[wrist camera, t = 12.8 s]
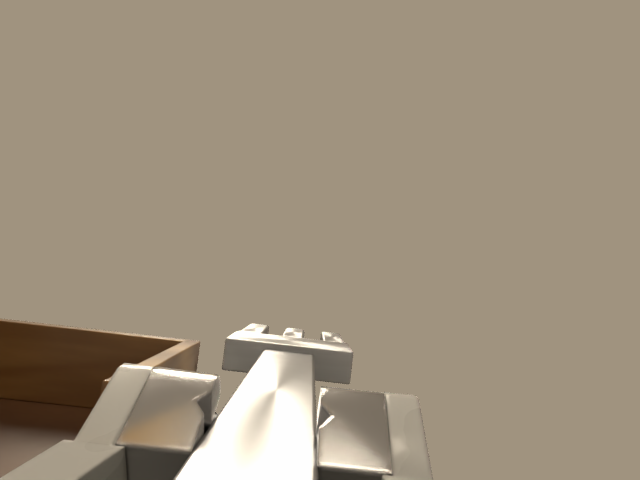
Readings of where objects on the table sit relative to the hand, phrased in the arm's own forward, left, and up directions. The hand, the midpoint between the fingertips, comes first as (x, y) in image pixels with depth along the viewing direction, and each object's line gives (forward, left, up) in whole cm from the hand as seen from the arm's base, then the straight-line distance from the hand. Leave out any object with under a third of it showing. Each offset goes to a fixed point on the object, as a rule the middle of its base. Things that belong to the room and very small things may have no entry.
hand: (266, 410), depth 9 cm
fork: (+3, +4, -1) cm, 5 cm away
